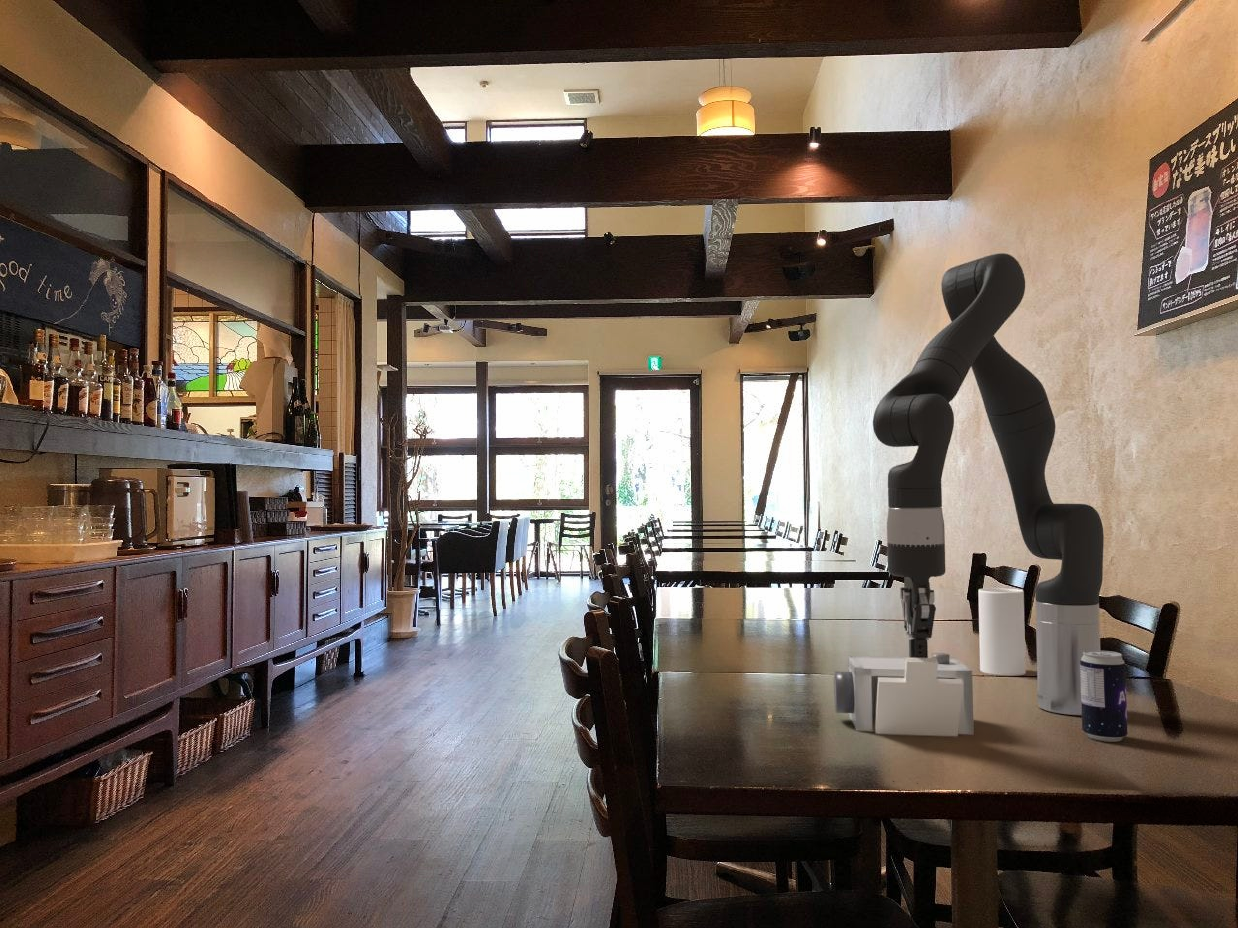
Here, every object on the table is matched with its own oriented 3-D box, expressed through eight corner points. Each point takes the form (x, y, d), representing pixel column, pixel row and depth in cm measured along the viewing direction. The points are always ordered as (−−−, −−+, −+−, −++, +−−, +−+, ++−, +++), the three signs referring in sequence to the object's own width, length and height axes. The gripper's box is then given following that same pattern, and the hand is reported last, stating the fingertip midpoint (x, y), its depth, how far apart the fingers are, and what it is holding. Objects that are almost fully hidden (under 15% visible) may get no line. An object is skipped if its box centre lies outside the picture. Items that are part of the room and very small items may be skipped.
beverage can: (1126, 745, 121) (1124, 658, 122) (1080, 739, 124) (1078, 654, 125) (1128, 735, 126) (1125, 651, 126) (1084, 730, 129) (1081, 648, 129)
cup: (1028, 670, 174) (1026, 589, 175) (1022, 677, 167) (1020, 593, 168) (984, 666, 178) (982, 587, 179) (976, 673, 171) (974, 590, 172)
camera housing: (957, 724, 133) (955, 650, 133) (973, 742, 123) (972, 662, 123) (833, 720, 136) (831, 647, 136) (839, 738, 126) (838, 659, 126)
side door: (955, 735, 123) (963, 658, 118) (957, 741, 122) (965, 663, 117) (874, 733, 125) (879, 656, 120) (875, 738, 124) (880, 661, 118)
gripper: (955, 544, 113) (958, 678, 113) (934, 536, 126) (937, 657, 126) (894, 544, 114) (897, 677, 114) (880, 537, 128) (883, 656, 127)
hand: (918, 666), depth 120 cm, fingers closed
